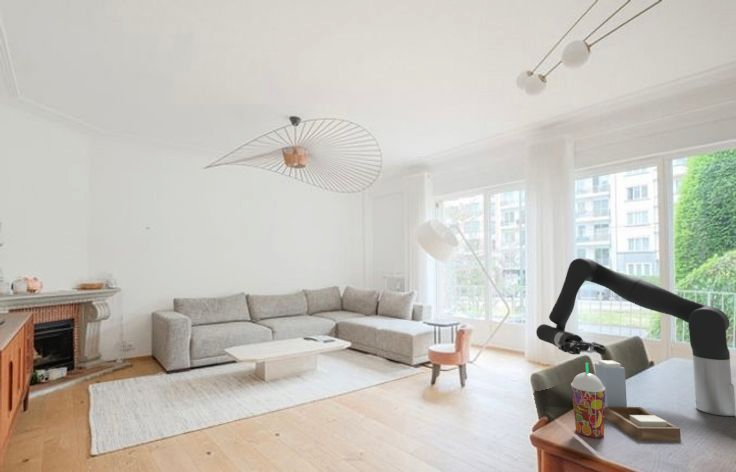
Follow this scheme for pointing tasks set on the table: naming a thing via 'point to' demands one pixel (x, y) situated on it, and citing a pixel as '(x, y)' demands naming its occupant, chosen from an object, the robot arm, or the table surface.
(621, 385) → the carton
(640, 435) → the crate
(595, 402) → the smoothie
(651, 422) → the off-white rectangular block
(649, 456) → the table surface
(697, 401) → the robot arm
